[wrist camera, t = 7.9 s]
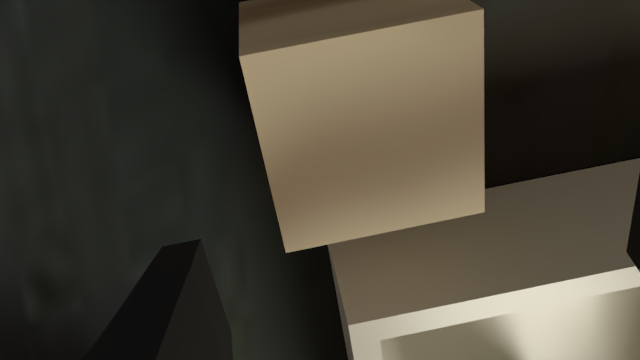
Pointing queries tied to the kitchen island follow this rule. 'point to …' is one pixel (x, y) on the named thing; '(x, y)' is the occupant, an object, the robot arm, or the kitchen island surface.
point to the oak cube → (366, 112)
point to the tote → (501, 277)
